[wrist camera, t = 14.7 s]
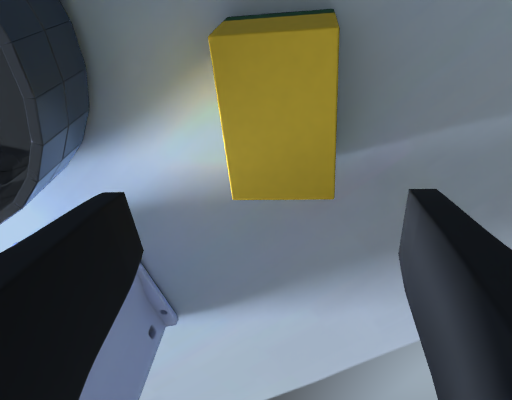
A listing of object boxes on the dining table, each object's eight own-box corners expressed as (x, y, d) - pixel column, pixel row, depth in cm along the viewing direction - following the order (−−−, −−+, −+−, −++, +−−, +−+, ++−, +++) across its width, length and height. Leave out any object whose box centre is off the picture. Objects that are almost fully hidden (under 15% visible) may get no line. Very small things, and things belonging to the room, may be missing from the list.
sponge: (226, 16, 16) (207, 35, 13) (334, 8, 15) (339, 26, 12) (243, 160, 20) (232, 200, 17) (330, 158, 19) (334, 199, 16)
